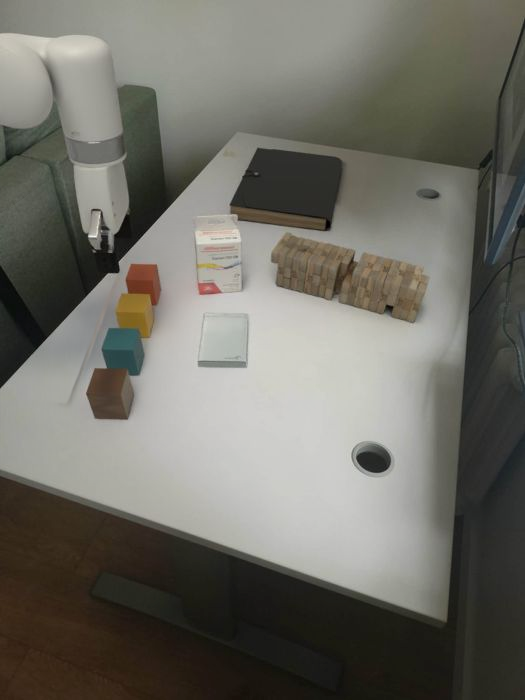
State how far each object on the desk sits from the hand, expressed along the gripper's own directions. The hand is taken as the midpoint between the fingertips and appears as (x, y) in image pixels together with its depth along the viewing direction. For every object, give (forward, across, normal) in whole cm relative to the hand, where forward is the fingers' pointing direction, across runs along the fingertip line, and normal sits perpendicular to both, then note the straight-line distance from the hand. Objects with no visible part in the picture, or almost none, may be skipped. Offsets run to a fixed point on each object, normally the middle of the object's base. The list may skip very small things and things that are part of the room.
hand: (116, 254), depth 78 cm
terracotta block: (+16, -9, +1) cm, 19 cm away
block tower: (+15, -12, +40) cm, 45 cm away
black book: (+15, -53, +30) cm, 63 cm away
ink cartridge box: (+16, -13, +15) cm, 26 cm away
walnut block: (+16, +18, +1) cm, 24 cm away
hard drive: (+16, +3, +17) cm, 23 cm away
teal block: (+16, +9, +1) cm, 18 cm away
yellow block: (+16, 0, +1) cm, 16 cm away
